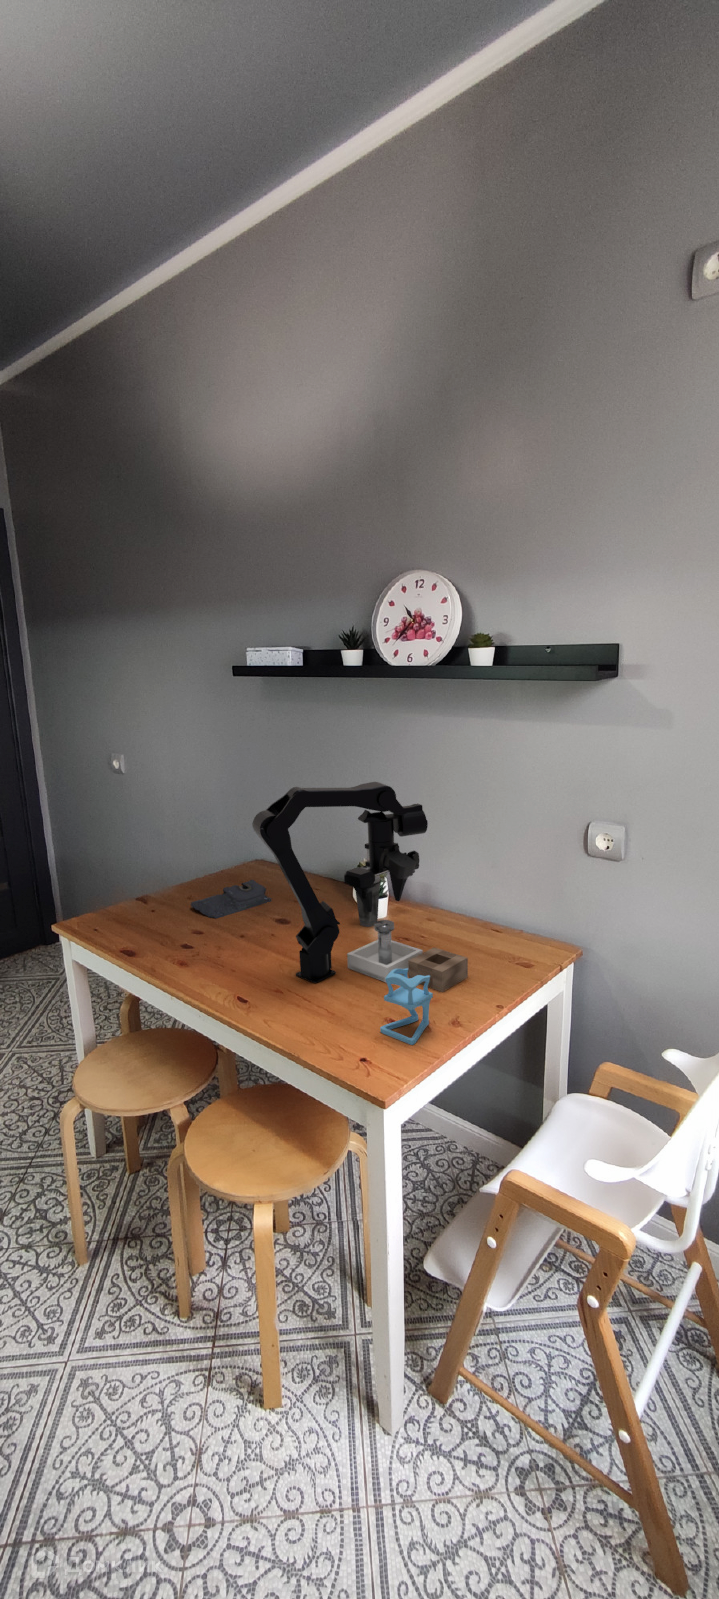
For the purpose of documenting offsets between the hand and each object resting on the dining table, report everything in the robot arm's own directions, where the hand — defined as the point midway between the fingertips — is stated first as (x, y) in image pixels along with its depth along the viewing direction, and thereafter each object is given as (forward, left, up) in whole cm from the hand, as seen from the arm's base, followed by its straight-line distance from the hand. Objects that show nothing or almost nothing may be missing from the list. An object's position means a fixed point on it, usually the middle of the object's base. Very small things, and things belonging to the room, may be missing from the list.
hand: (383, 906), depth 165 cm
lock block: (0, -15, -13) cm, 20 cm away
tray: (-2, -2, -13) cm, 13 cm away
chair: (-20, -24, -13) cm, 34 cm away
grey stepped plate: (+2, +61, -14) cm, 63 cm away
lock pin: (-2, -2, -12) cm, 12 cm away
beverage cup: (+15, +19, -13) cm, 27 cm away
